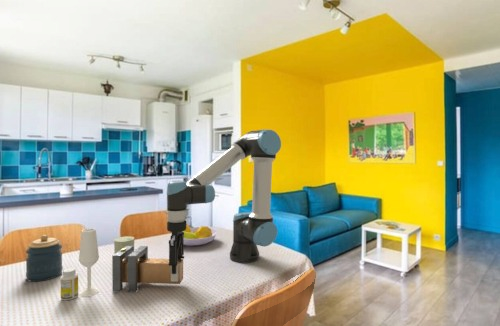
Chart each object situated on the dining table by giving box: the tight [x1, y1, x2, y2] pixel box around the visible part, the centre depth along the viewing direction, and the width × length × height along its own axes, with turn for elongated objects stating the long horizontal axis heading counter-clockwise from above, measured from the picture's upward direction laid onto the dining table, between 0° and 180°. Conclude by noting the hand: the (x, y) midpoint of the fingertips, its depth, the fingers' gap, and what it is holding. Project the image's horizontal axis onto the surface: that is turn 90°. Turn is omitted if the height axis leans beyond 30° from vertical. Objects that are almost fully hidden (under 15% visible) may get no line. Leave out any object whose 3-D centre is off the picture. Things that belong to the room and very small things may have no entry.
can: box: [113, 235, 135, 259], centre depth 142 cm, size 9×9×12 cm
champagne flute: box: [78, 228, 100, 298], centre depth 111 cm, size 7×7×24 cm
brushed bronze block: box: [123, 257, 184, 285], centre depth 117 cm, size 24×5×8 cm, turn 88°
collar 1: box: [111, 245, 135, 293], centre depth 118 cm, size 3×12×15 cm, turn 178°
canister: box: [25, 234, 63, 282], centre depth 126 cm, size 13×13×18 cm
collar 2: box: [127, 245, 149, 293], centre depth 117 cm, size 3×12×14 cm, turn 178°
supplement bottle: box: [59, 267, 79, 301], centre depth 107 cm, size 6×6×10 cm
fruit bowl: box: [182, 223, 218, 247], centre depth 174 cm, size 28×27×11 cm
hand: (176, 277), depth 117 cm, fingers closed on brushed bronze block, 5 cm apart
